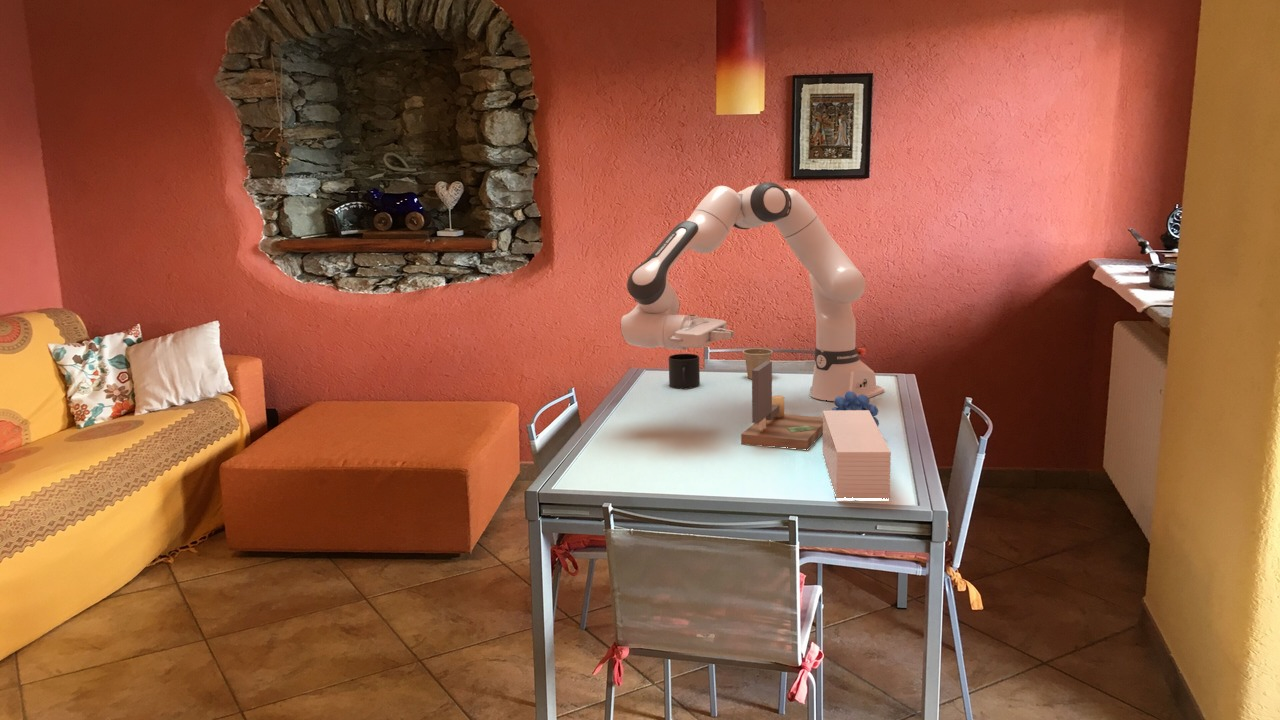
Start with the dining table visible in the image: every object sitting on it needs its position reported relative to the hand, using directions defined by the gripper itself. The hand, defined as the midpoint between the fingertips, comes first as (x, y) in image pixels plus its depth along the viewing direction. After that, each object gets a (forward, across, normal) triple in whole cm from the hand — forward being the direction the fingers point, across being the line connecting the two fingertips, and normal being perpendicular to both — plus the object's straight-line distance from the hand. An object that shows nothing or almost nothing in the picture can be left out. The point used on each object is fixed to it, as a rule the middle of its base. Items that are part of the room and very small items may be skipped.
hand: (732, 335), depth 239 cm
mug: (-32, +45, +26) cm, 61 cm away
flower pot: (-13, +63, +26) cm, 69 cm away
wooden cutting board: (+12, +5, +26) cm, 29 cm away
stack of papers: (+35, -20, +26) cm, 48 cm away
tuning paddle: (+8, +3, +23) cm, 25 cm away
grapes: (+29, +7, +26) cm, 40 cm away
